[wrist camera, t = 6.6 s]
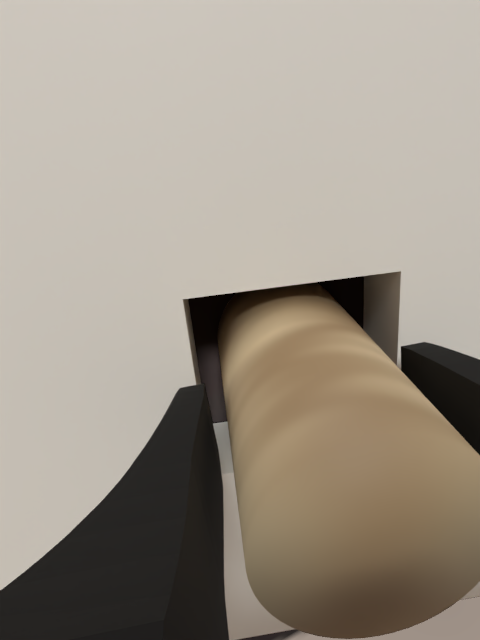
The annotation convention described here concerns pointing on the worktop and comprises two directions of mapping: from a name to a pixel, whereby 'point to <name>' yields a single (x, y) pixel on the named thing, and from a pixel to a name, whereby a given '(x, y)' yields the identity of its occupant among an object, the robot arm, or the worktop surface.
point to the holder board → (212, 215)
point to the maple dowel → (341, 471)
